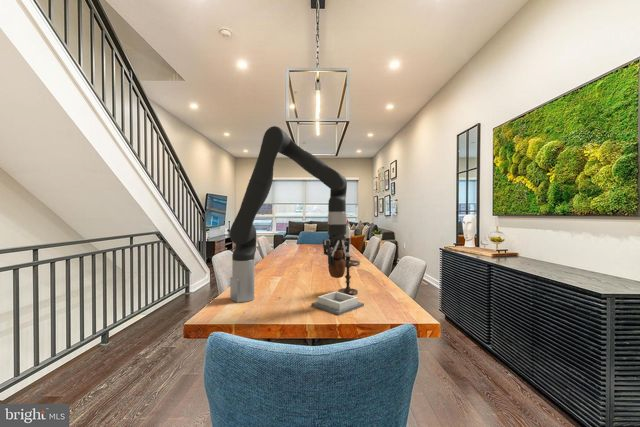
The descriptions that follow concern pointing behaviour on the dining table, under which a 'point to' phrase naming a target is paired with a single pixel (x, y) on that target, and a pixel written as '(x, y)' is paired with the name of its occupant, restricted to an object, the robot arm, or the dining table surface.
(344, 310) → the plate
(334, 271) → the wooden figurine
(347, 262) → the candlestick
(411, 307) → the dining table surface
